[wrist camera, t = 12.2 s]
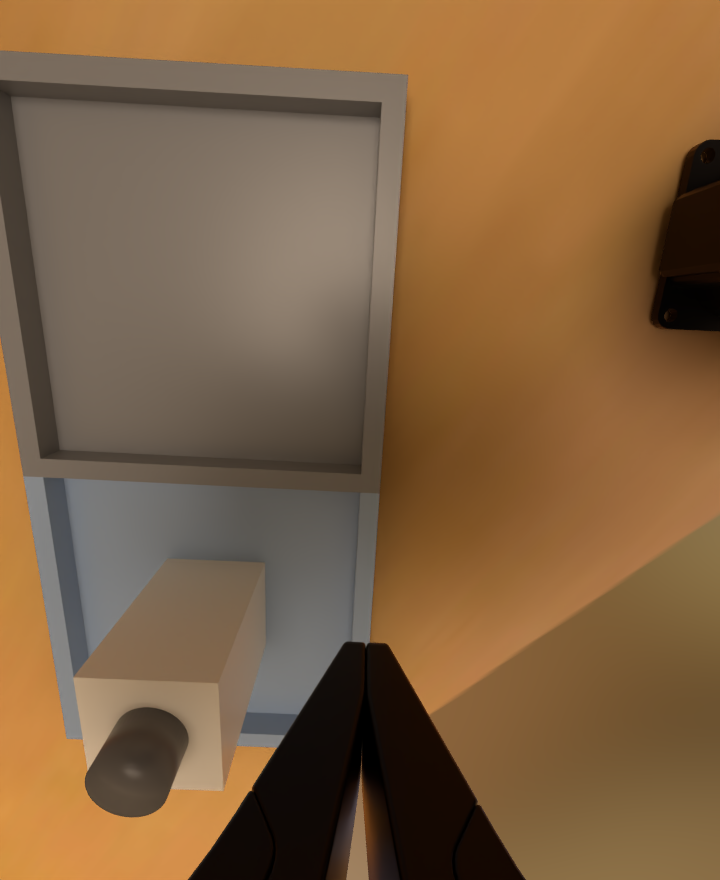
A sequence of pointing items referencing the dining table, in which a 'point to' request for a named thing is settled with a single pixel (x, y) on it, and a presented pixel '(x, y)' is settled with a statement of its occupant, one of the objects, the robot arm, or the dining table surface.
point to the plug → (172, 684)
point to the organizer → (200, 340)
